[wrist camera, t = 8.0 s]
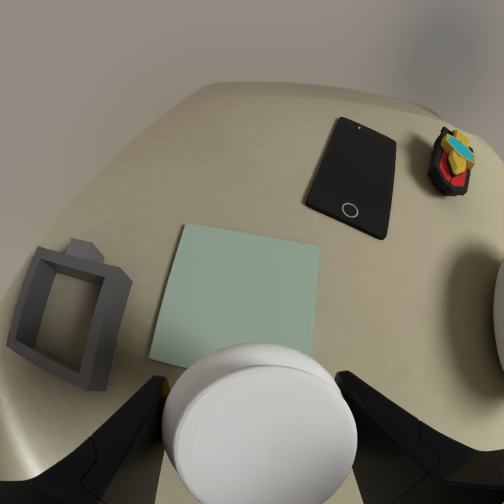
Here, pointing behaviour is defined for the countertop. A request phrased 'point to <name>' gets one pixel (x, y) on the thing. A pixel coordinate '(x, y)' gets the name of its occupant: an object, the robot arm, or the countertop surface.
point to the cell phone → (356, 179)
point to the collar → (103, 322)
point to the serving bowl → (499, 313)
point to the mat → (236, 295)
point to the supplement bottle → (259, 428)
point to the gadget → (451, 163)
